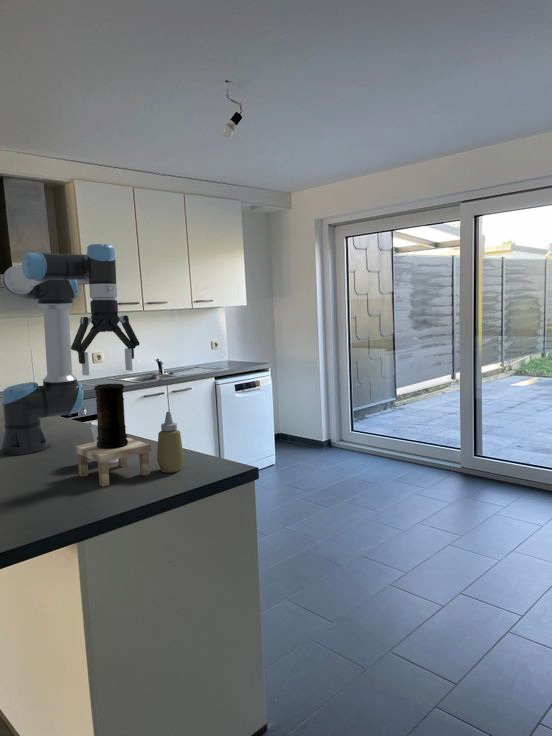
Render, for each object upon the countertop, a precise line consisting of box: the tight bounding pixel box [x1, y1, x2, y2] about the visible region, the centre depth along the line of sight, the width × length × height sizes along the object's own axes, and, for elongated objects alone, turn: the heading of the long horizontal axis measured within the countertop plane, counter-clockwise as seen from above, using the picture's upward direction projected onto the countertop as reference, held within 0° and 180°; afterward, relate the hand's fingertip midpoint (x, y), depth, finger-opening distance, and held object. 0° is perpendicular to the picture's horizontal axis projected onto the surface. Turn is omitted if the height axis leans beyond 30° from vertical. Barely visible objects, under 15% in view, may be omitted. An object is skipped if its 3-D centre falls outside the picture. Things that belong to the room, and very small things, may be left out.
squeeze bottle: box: [156, 411, 185, 473], centre depth 166 cm, size 8×8×18 cm
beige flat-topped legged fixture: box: [74, 437, 152, 487], centre depth 164 cm, size 16×16×9 cm
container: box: [93, 383, 128, 449], centre depth 162 cm, size 9×9×18 cm
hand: (108, 372), depth 161 cm, fingers open, 13 cm apart
